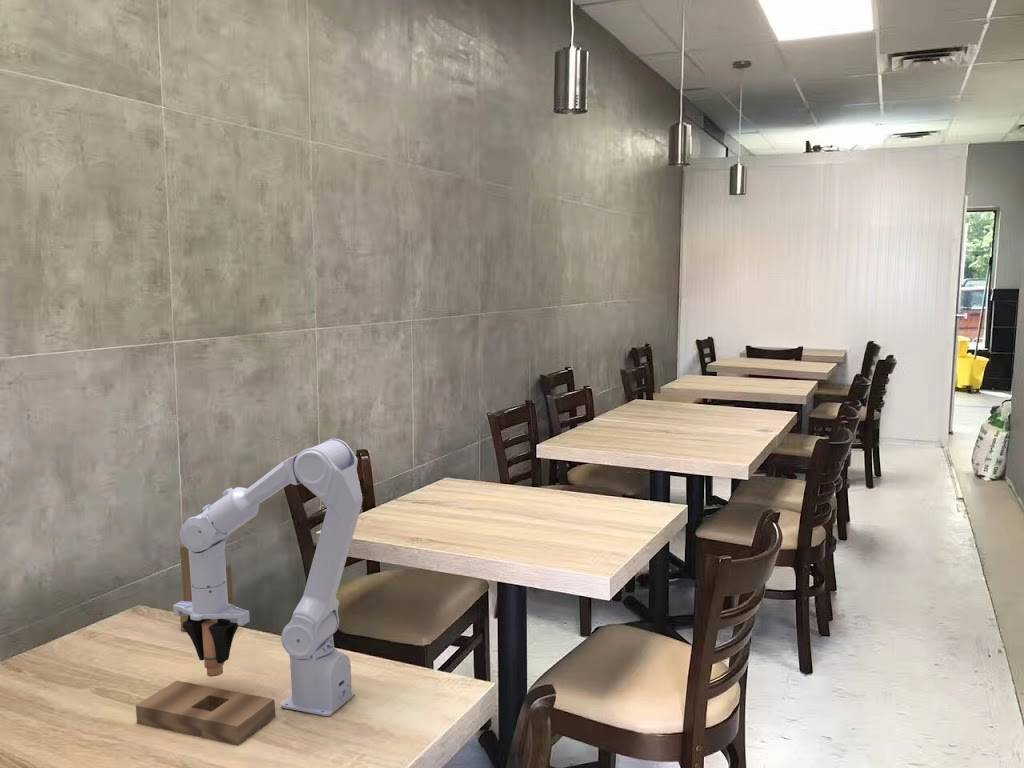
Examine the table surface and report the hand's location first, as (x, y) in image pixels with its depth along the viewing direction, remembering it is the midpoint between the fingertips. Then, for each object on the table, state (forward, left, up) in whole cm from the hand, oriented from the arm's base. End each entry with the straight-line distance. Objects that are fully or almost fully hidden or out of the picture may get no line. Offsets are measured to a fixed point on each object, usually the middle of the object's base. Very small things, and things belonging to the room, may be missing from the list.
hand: (214, 659), depth 143 cm
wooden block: (+20, -21, -6) cm, 30 cm away
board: (-5, +8, -6) cm, 11 cm away
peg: (0, 0, -2) cm, 2 cm away
